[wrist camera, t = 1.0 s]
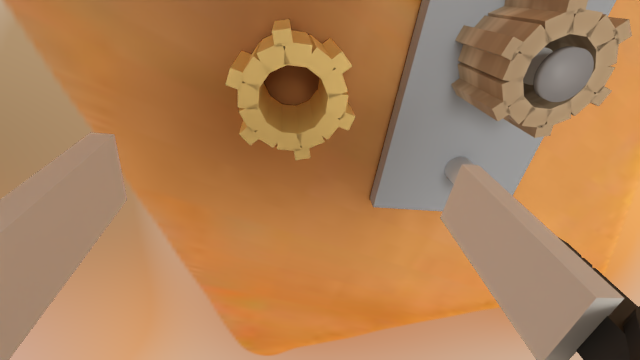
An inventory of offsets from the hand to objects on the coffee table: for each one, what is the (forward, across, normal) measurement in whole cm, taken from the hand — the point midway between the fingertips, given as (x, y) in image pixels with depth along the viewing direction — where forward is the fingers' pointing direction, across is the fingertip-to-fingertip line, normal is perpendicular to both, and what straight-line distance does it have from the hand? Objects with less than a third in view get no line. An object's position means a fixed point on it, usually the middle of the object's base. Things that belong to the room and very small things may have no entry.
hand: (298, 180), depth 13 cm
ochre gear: (+16, 0, 0) cm, 16 cm away
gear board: (+16, +16, -1) cm, 22 cm away
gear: (+14, +16, +4) cm, 22 cm away
